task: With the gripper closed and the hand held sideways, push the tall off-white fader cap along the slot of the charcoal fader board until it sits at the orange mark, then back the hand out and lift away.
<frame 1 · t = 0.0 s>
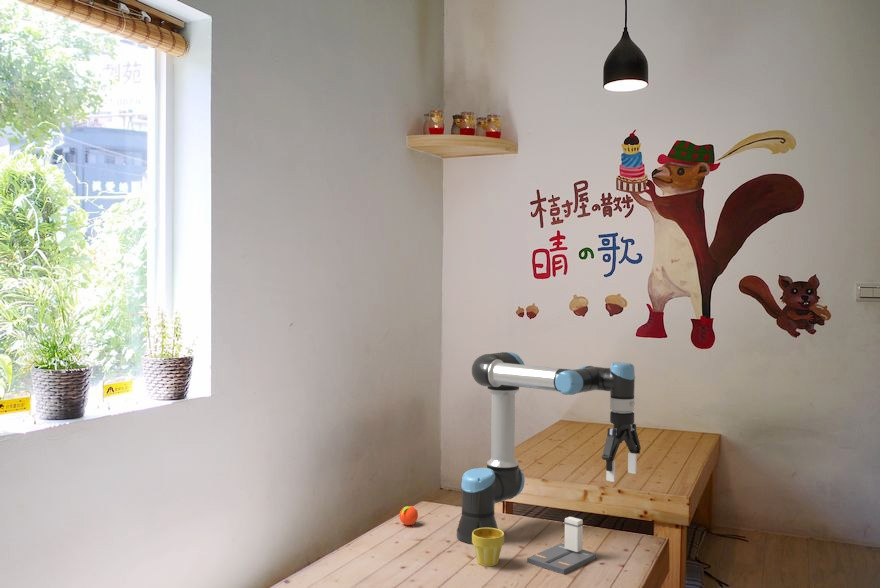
hand: (621, 477, 239), 28 cm above the table, tool pointing down, fingers open, 13 cm apart
fader cap: (573, 534, 247), point 7 cm above the table, slide at 0.0 cm
plant pot: (487, 563, 240), on the table
clementine: (407, 525, 276), on the table
fader board: (562, 560, 242), on the table
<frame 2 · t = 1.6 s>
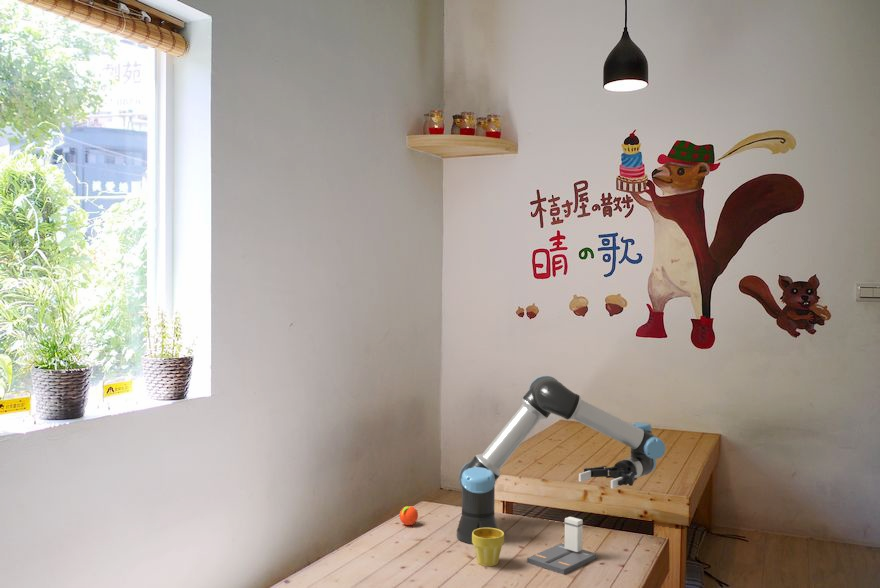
hand: (595, 481, 256), 22 cm above the table, tool horizontal, fingers open, 12 cm apart
nothing on the table moved.
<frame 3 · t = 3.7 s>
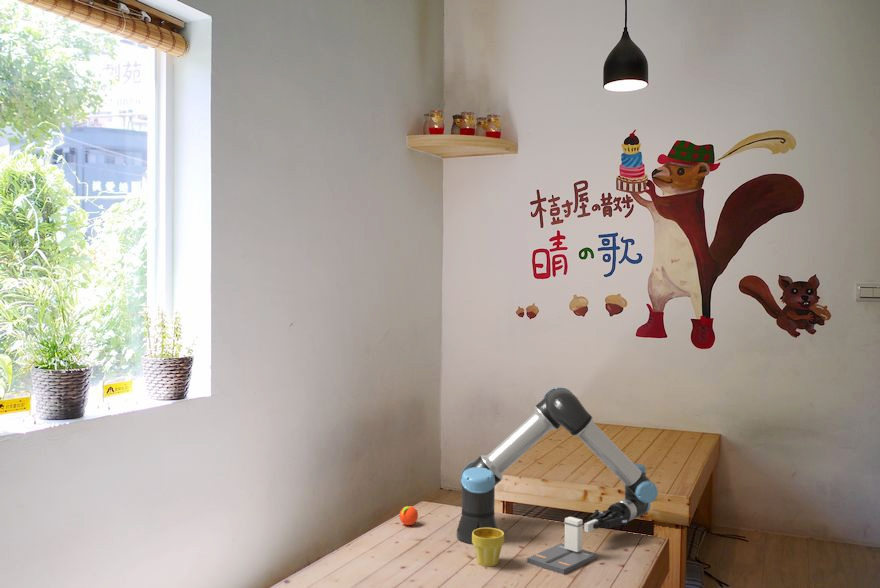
hand: (586, 527, 252), 7 cm above the table, tool horizontal, fingers closed
nothing on the table moved.
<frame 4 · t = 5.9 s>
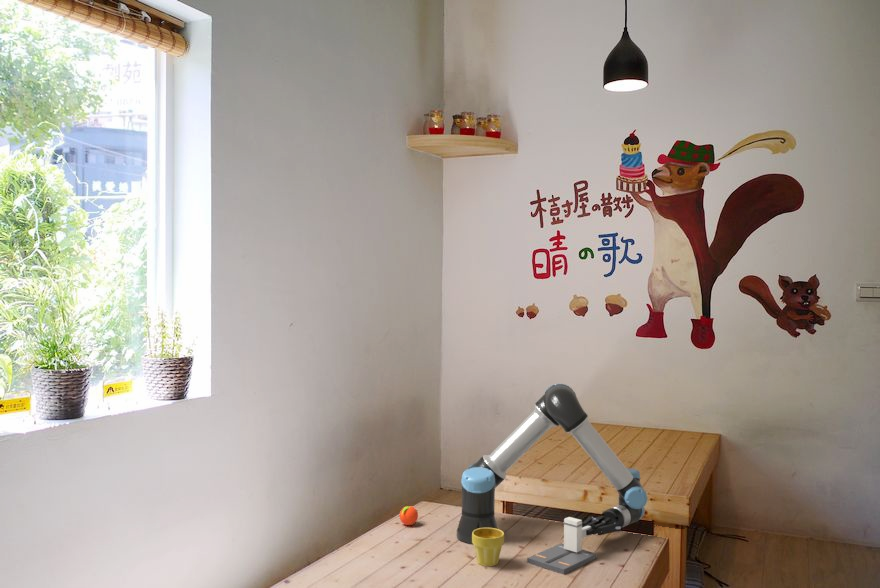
hand: (578, 534, 247), 7 cm above the table, tool horizontal, fingers closed
fader cap: (572, 534, 246), point 7 cm above the table, slide at 0.4 cm, touching gripper
everything else where it was.
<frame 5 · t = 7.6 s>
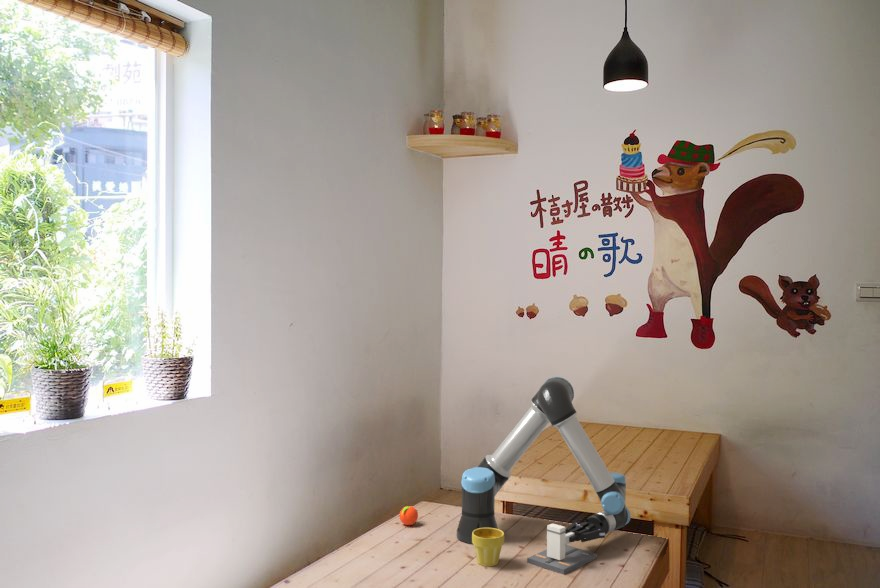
hand: (561, 541, 240), 7 cm above the table, tool horizontal, fingers closed
fader cap: (556, 541, 239), point 7 cm above the table, slide at 10.0 cm, touching gripper
everything else where it was.
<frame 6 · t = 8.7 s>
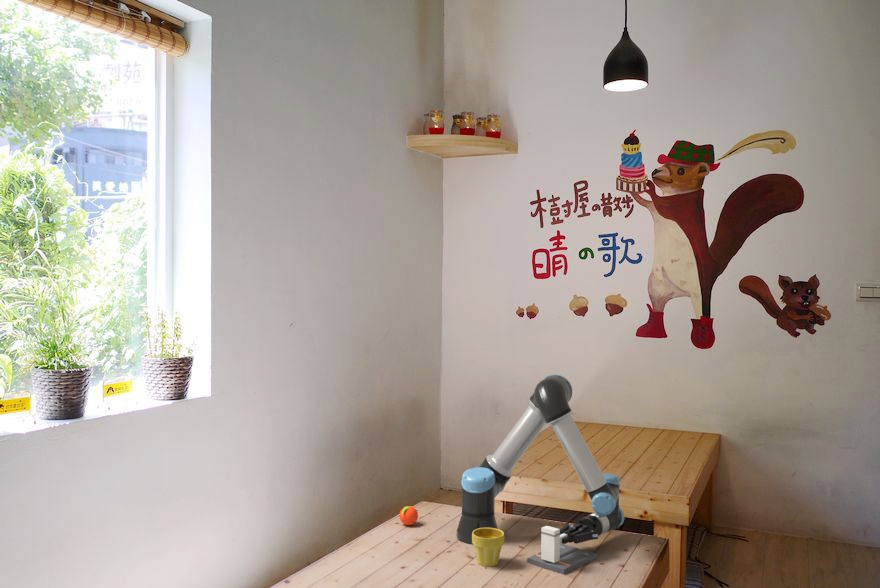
hand: (554, 542, 238), 7 cm above the table, tool horizontal, fingers closed
fader cap: (550, 544, 237), point 7 cm above the table, slide at 13.2 cm, touching gripper
everything else where it was.
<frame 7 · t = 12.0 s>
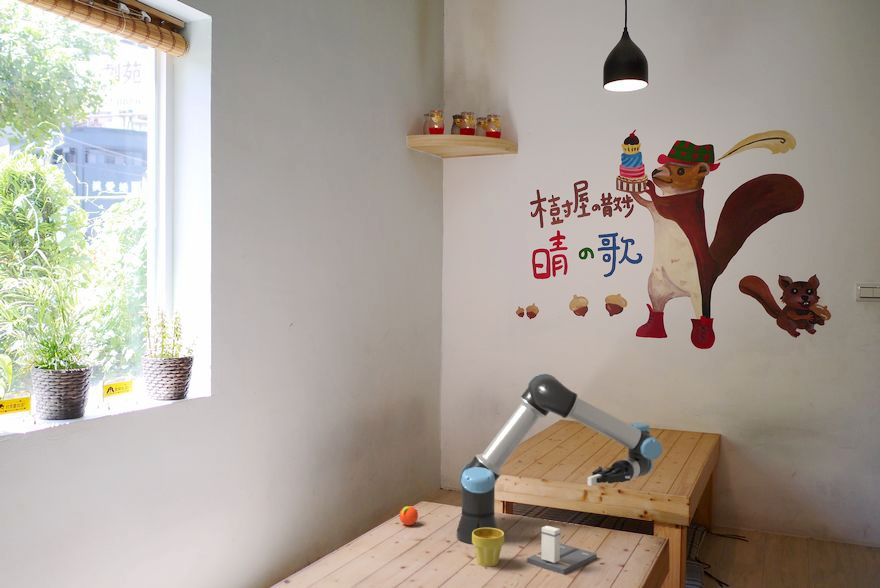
hand: (589, 481, 253), 23 cm above the table, tool horizontal, fingers closed
fader cap: (550, 543, 237), point 7 cm above the table, slide at 13.1 cm
everything else where it was.
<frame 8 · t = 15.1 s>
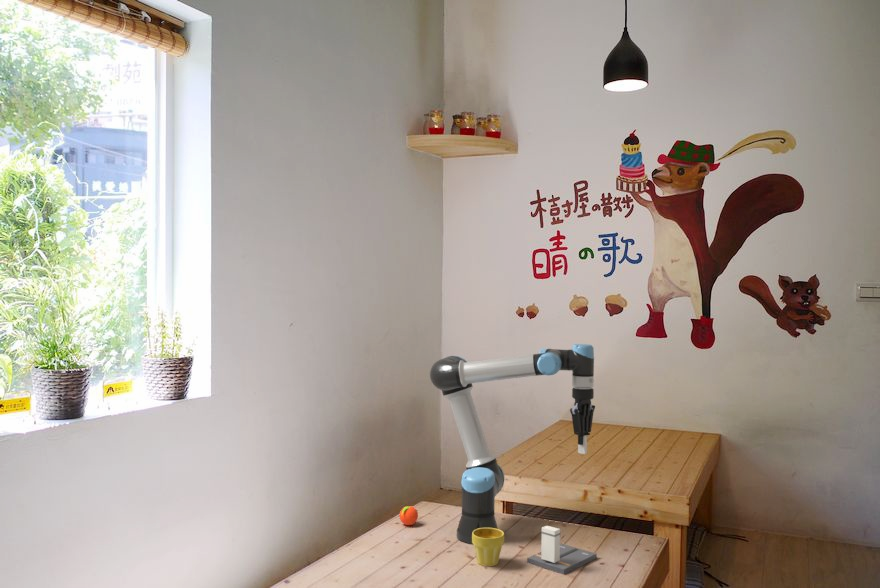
hand: (582, 453, 266), 29 cm above the table, tool pointing down, fingers closed
nothing on the table moved.
at the end: fader cap slide at 13.1 cm; plant pot moved 0.2 cm from its start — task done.
